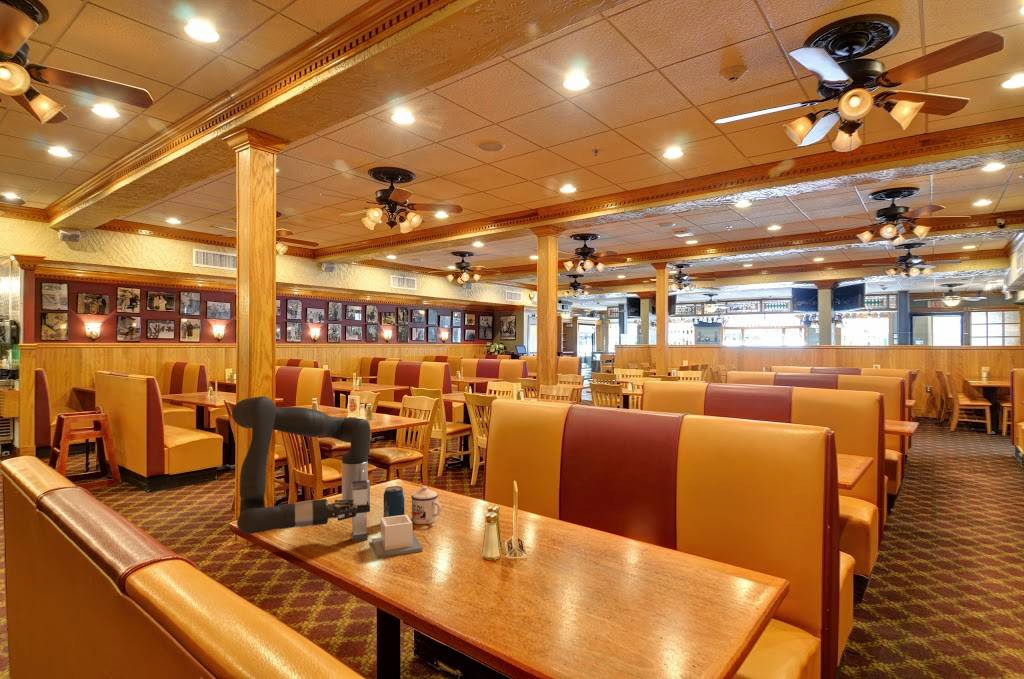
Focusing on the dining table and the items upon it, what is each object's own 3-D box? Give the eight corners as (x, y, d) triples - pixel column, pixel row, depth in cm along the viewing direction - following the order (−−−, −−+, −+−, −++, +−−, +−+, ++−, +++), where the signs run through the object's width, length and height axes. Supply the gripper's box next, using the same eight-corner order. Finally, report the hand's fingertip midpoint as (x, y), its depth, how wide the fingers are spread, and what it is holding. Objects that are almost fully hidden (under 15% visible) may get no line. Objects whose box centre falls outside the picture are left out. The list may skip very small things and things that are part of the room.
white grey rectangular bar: (351, 538, 172) (351, 481, 171) (366, 536, 173) (366, 480, 173) (352, 541, 169) (352, 484, 169) (367, 539, 170) (367, 482, 170)
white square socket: (371, 541, 169) (371, 516, 169) (413, 536, 174) (413, 511, 173) (377, 558, 157) (377, 530, 157) (422, 551, 162) (422, 524, 161)
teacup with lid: (405, 521, 187) (405, 487, 187) (424, 514, 195) (424, 481, 194) (431, 528, 180) (431, 493, 180) (449, 520, 188) (449, 487, 188)
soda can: (406, 520, 188) (406, 485, 188) (400, 527, 181) (400, 491, 181) (387, 519, 189) (387, 485, 189) (380, 526, 182) (380, 491, 182)
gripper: (311, 507, 159) (372, 500, 165) (310, 494, 172) (366, 488, 178) (311, 533, 159) (372, 525, 166) (310, 518, 172) (366, 511, 179)
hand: (368, 506), depth 172 cm, fingers closed on white grey rectangular bar, 3 cm apart
